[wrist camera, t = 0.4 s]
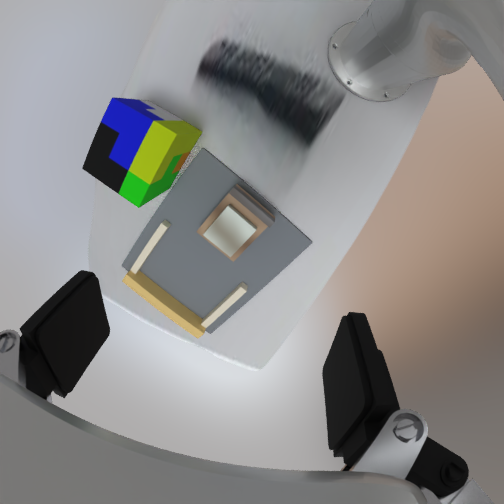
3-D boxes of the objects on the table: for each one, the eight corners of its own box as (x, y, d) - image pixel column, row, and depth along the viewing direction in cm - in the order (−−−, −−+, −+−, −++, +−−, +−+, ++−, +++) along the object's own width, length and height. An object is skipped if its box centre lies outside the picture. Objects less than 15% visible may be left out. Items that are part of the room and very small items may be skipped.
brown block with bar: (238, 182, 38) (233, 187, 35) (275, 214, 39) (274, 222, 36) (200, 226, 41) (193, 235, 38) (235, 255, 43) (231, 266, 40)
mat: (203, 147, 37) (196, 149, 34) (311, 241, 41) (314, 251, 38) (122, 264, 47) (113, 273, 44) (210, 332, 51) (206, 344, 48)
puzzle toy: (149, 101, 34) (112, 97, 25) (202, 131, 36) (177, 134, 27) (120, 156, 38) (82, 168, 29) (169, 188, 40) (138, 207, 31)
